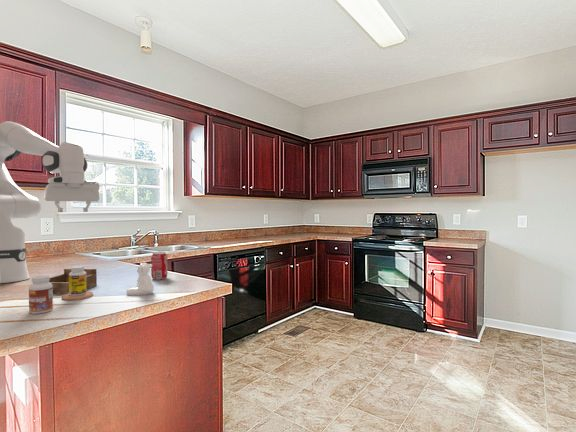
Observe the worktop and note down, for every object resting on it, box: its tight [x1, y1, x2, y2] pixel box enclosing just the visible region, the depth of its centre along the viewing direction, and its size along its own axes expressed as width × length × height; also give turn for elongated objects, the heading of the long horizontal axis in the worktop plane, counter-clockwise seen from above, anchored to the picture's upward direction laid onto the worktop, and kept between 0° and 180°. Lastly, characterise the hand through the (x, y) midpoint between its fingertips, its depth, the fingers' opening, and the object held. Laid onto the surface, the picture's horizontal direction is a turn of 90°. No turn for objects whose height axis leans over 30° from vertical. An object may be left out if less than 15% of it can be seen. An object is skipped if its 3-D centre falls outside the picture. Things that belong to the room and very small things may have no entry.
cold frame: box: [49, 268, 98, 294], centre depth 141 cm, size 14×14×7 cm
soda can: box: [150, 251, 168, 281], centre depth 161 cm, size 7×7×12 cm
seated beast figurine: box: [125, 262, 155, 296], centre depth 133 cm, size 10×9×12 cm
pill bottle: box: [28, 275, 54, 315], centre depth 110 cm, size 6×6×11 cm
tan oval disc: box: [61, 290, 94, 301], centre depth 128 cm, size 10×10×1 cm
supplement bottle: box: [69, 265, 87, 296], centre depth 128 cm, size 6×6×10 cm
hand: (73, 212), depth 150 cm, fingers open, 8 cm apart
